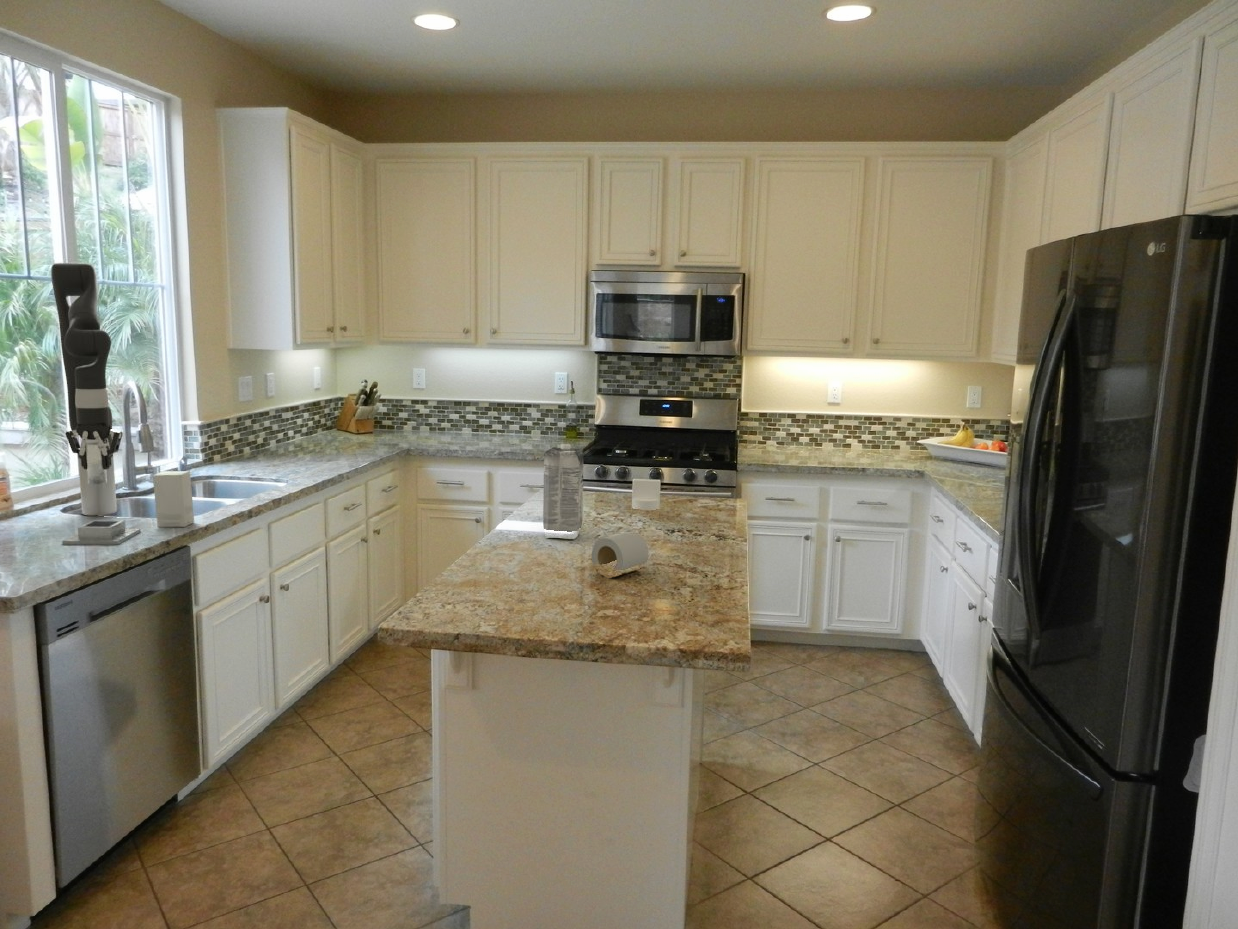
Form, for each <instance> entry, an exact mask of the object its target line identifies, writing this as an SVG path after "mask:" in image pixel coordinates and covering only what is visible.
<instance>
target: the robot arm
mask: <svg viewBox="0 0 1238 929" xmlns="http://www.w3.org/2000/svg"><path fill="white" fill-rule="evenodd" d="M50 277H51V278H50V279H51V283H52V290H53V295H54V299H55V300H54V301H55V306H56V311H57V316H58V322H59V323H58V324H59V335H60V344H61V345H60V346H61V353H62V361H63V366H64V374H65V379H66V388H67V389H66V390H67V404H68V419H69V426H70V430H69V431H66V432H65V437H66V439H67V441H68V444H69V447H70V449H71V452H72V453H73V454H77V461H78V462H77V463H78V464H77V465H78V474H79V476H78V477H79V489H80V490H79V491H80V502H81V515H85V516H104V515H110V514H114V513H116V512H117V510H118V509H117V508H118V507H117V493H116V492H117V490H116V479H115V478H116V476H115V475H116V474H115V463H114V462H115V461H114V454H115V453H118V452H119V449H120V446H121V441H122V436H123V434H124V433H123V431H121V430H118V431H117V430H115V429H113V414H112V410H111V407H110V405H109V395H108V391H107V378H106V377H107V376H106V373H107V371H106V369H107V363H108V358H109V355H110V351H111V349H112V348H111V347H112V339H111V336H110V334H109V333H108V332H107V331H105V330H102V329H101V324H100V318H99V312H98V303H99V281H98V274H97V271H96V269H95V267H94V266H93V265H92V264H91V263H86V262H56V263H53V264H52V265H51V268H50ZM68 297H77V298H75V300H74V301H73V302H72V303H71V304H70V302H69V299H68ZM78 436H79V437H80V438H81V441H80V442H81V443H80V442H79V440H78ZM84 439H99V443H98V446H99V448H101V451H102V453H103V455H104V456H102V459H103V469H106V475H107V483H103V484H88V474H87V460H86V443H85V440H84ZM103 441H105V442H104V443H103Z"/></svg>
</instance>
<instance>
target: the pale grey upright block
mask: <svg viewBox="0 0 1238 929" xmlns="http://www.w3.org/2000/svg"><path fill="white" fill-rule="evenodd" d="M84 440H85V443H86V460H87V474H88V484H103V483H107V475H106V469H103V459H102V456H104V455H103V453H102V451H101V448H99V446H98V443H99V439H84ZM104 442H105V441H103V443H104Z"/></svg>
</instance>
